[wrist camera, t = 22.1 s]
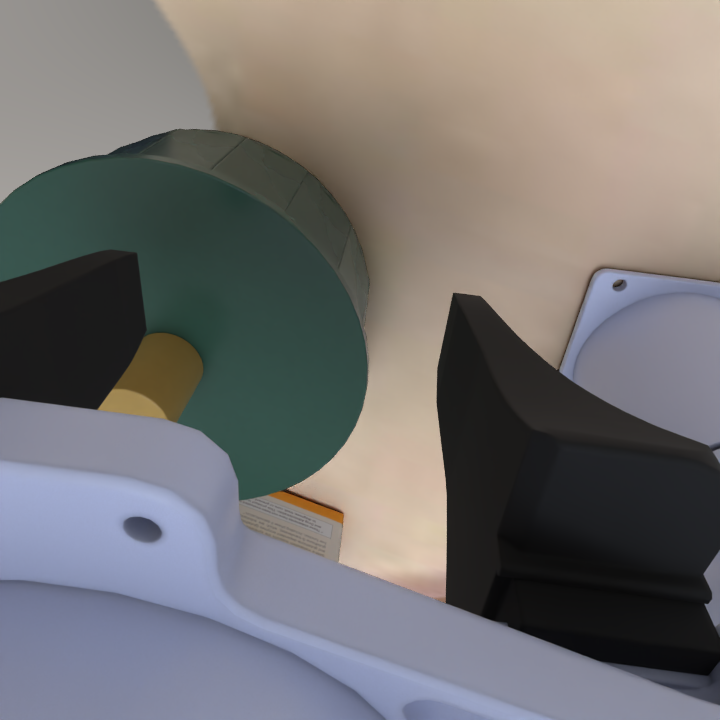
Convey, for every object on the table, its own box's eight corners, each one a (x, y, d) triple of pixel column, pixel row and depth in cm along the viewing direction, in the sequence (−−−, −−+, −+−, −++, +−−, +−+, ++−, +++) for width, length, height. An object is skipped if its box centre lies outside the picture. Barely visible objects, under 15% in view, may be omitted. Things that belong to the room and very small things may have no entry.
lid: (394, 178, 17) (386, 232, 13) (351, 502, 24) (339, 593, 21) (-65, 120, 17) (-195, 158, 13) (34, 459, 25) (-32, 541, 21)
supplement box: (184, 512, 33) (67, 774, 22) (207, 458, 31) (89, 724, 20) (316, 561, 34) (267, 831, 24) (349, 513, 32) (311, 791, 21)
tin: (385, 151, 21) (375, 199, 17) (354, 417, 28) (340, 503, 24) (47, 109, 21) (-56, 145, 17) (99, 383, 28) (36, 462, 24)
